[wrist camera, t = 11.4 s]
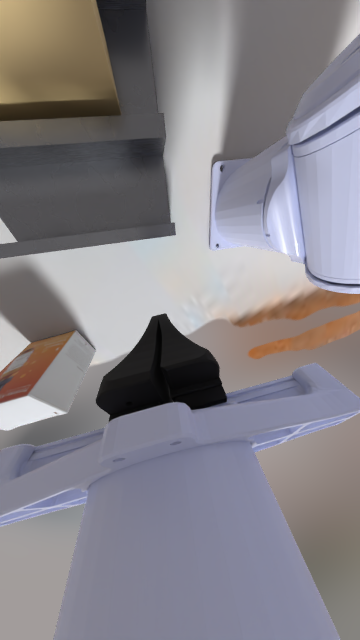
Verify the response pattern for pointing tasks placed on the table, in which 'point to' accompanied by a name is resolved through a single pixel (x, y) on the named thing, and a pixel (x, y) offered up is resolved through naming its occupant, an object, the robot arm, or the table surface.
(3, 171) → the rack
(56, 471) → the robot arm
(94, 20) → the tan rectangular block
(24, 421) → the small box
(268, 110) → the table surface
